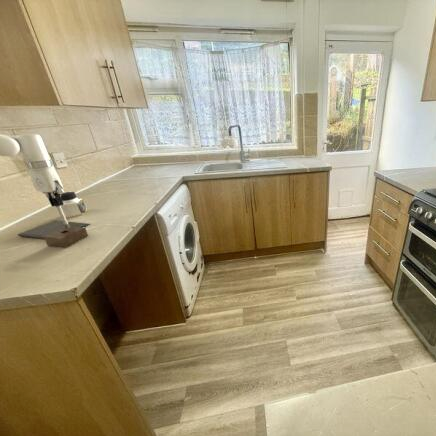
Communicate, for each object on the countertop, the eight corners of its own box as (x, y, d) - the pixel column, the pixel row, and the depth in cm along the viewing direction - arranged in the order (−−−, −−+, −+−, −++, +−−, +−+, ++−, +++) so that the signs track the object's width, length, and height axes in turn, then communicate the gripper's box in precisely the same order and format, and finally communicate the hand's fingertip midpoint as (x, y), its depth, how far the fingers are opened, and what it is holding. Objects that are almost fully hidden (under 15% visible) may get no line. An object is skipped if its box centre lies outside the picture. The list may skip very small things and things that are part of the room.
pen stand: (65, 248, 95) (61, 238, 93) (47, 246, 97) (42, 236, 95) (89, 237, 103) (85, 227, 102) (71, 235, 106) (67, 225, 104)
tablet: (56, 240, 101) (55, 238, 101) (18, 235, 106) (17, 233, 106) (91, 225, 115) (90, 223, 114) (55, 221, 119) (55, 220, 119)
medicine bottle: (82, 215, 126) (72, 193, 120) (65, 218, 123) (54, 196, 118) (87, 210, 132) (77, 189, 127) (71, 213, 129) (61, 191, 124)
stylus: (65, 225, 113) (52, 194, 107) (63, 224, 114) (49, 194, 108) (69, 223, 115) (55, 193, 108) (66, 223, 115) (53, 193, 109)
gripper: (15, 166, 101) (35, 207, 109) (43, 167, 98) (62, 209, 105) (36, 162, 108) (54, 201, 115) (63, 163, 104) (79, 203, 112)
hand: (57, 205), depth 110 cm, fingers closed on stylus, 1 cm apart
